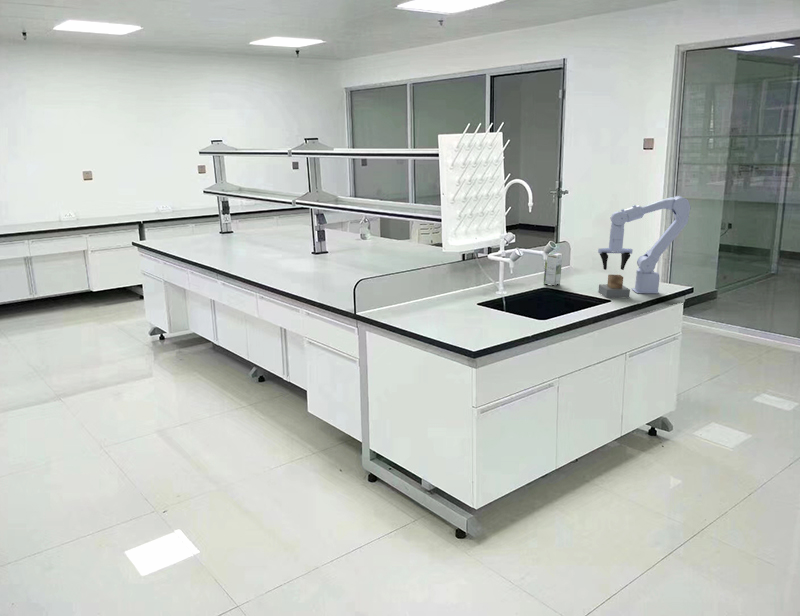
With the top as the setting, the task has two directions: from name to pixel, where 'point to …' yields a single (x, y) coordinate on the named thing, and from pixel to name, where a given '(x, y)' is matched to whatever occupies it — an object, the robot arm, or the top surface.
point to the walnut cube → (615, 281)
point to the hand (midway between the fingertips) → (613, 269)
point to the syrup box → (553, 269)
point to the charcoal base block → (613, 291)
